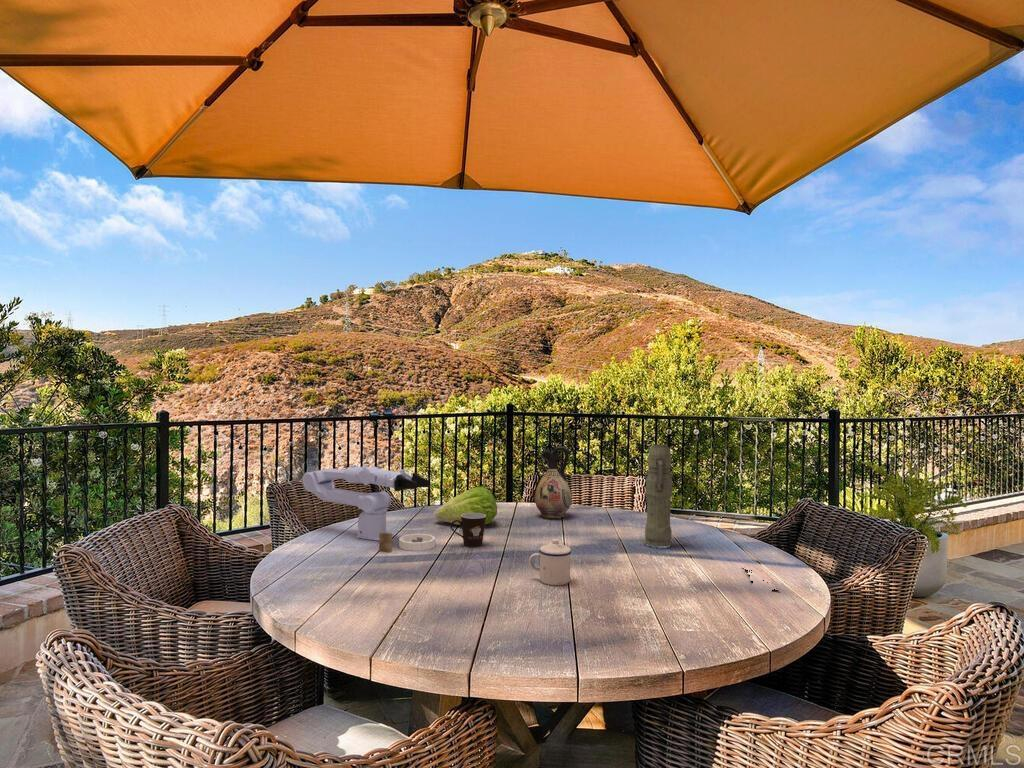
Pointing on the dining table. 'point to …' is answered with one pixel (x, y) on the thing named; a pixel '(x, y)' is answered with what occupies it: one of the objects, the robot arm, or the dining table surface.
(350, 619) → the dining table surface
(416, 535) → the white shallow dish
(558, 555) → the teacup with lid
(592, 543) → the dining table surface
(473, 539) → the coffee mug
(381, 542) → the brown wooden block
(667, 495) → the carved stone statue
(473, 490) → the chayote
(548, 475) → the ceramic jug
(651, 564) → the dining table surface
